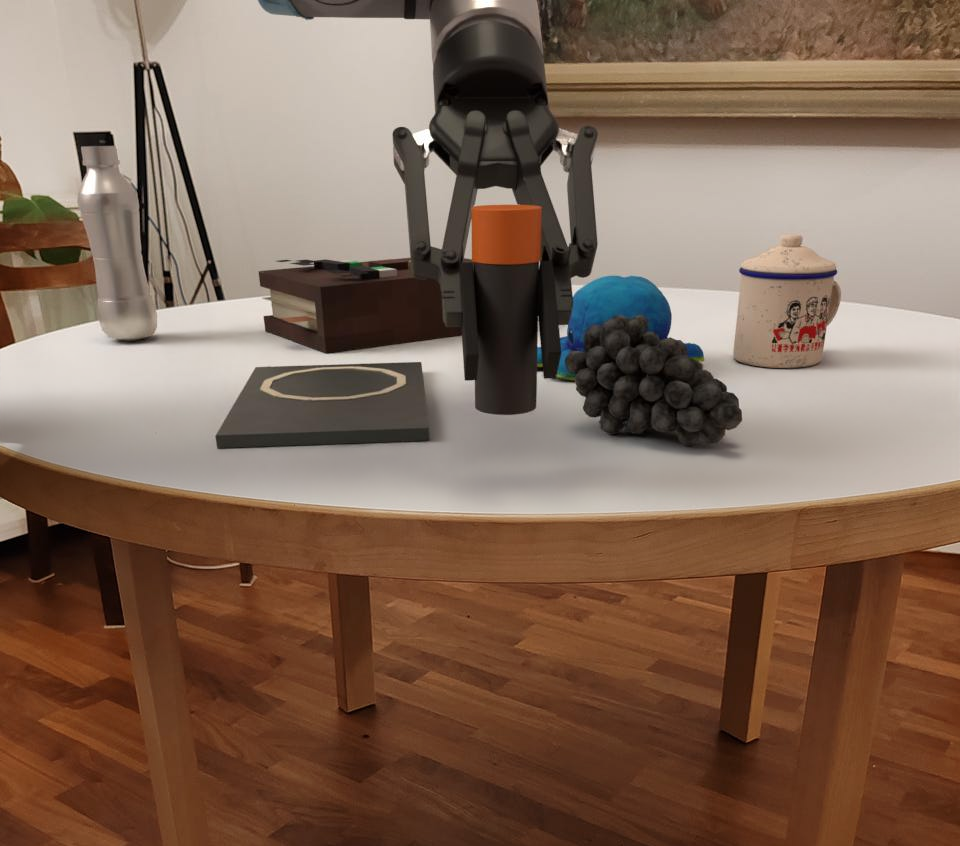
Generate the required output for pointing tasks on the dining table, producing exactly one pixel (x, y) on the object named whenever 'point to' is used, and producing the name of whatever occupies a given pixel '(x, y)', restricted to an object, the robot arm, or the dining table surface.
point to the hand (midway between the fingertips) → (512, 366)
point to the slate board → (328, 406)
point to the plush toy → (615, 313)
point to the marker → (506, 306)
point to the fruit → (649, 384)
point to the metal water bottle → (115, 247)
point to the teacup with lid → (785, 306)
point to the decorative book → (354, 304)
